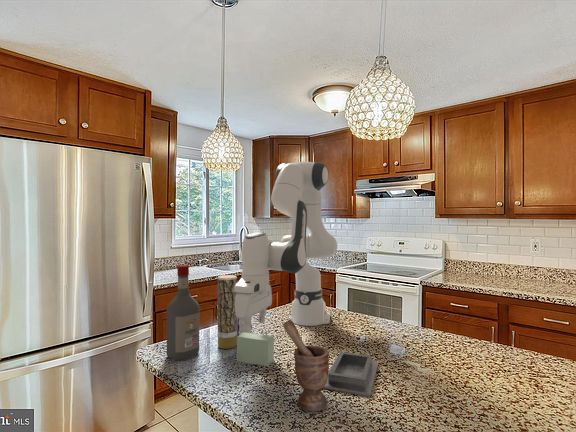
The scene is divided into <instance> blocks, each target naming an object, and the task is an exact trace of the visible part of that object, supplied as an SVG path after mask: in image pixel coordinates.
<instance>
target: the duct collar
mask: <svg viewBox="0 0 576 432" xmlns="http://www.w3.org/2000/svg"><path fill="white" fill-rule="evenodd" d="M378 366H379V362H375V361H373V355H366V354H358V353H350V352H344V351H340V352H339V354H338V356H337V357H335V359H334V362H333V363H332V365H331V366H330V368H329V372H328V378H327V382H326V384H325V385H324V387H323V388H322V390H323V389H324V390H329V391H334V392H341V393H346V394H353V395H358V396H363V397H368V398H369V397H370V398H371V396H372V392H373V387H374V383H375V379H376V375H377V371H378Z"/></svg>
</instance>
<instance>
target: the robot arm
mask: <svg viewBox="0 0 576 432" xmlns="http://www.w3.org/2000/svg"><path fill="white" fill-rule="evenodd" d="M274 175H275V182H274V184H273V188H272V191H271V192H272V193H271V203H272V206H273V207H274V208H275V210H277V211H278V212H279V213H280V214H283V215H284V216H287V217H289V218H291V233H290V234H287V235H283V236H282V238H281V239H280V241H279V242H278V241H272V240H271V239H269V238H268V235H267V233H266V232H259V231H257V232H251V233H248V234H246V235H244V238H243V239H242V244H241V263H242V270H241V278H240V279H239V280H238V281H237V284H236V285H235V286H234V292H236V293H237V294H236V296H235V314H236V317H237V318H238V319H243V321H244V324H245V330H246V331H251V332H252V330H253V324H252V317H254V316H255V315H257V314H259V315H258V316H257V319H258V320H257V321H258V322H257V323H261V324H263V323H264V322H265V321H266V320H265V319H266V318H265V317H266V314H267V308H269V307H271V306H272V303H273V293H272V286H271V284H270V271H278V272H286V273H291V274H294V275H295V289H294V300H292V302H291V315H289V316H288V318H287V319H288V320H291V321H292V322H293V323H294V325H299V326H307V327H313V326H319V325H328V324H330V322H331V320H330V319H331V312H329V311H327V308H326V304H327V303H326V302H325V300H324V299H323V288H322V287H321V285H322V281H321V280H322V279H321V278H322V277H321V276H322V275H321V272H320V270H319V269H318V268H316V267H315V266H312V265H311V264H309V263H308V262H307V260H309V259H326V258H332V257H334V255H335V254H336V253H337V250H338V242H337V239H336V238H335V236H334V235H332V234H331V233H330V232H329V231H328V230H327V229H326V228H325V225H324V224H323V220H322V199H321V198H322V197H321V196H322V195H321V190H322V188H324V187H325V186H326V184H327V182H328V178H329V171H328V168H327V166H326V164H324V163H323V162H320V161H319V162H318V161H315V162H313V161H296V162H294V161H293V162H283V163H281V164H279V165H278V166H277V168H276V169H275V174H274ZM307 229H308V230H309V233H307ZM269 270H270V271H269ZM250 320H251V321H250Z"/></svg>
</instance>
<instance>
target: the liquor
mask: <svg viewBox="0 0 576 432" xmlns="http://www.w3.org/2000/svg"><path fill="white" fill-rule="evenodd" d="M176 273H177V292H176V294H175V295H176V296H174V298H173V299H172V300H171V301H170V302H169V303H168V305H167V307H166V356H167V357H168V358H169V359H171V360H174V361H175V362H178V361H179V362H181V361H182V362H184V361H187V360H189V359H192V358H195V357H197V356H198V354H199V352H200V305H199V303H198V301H197V300H196V299H195V298H194V297H193V296H192V295H191V294H190V291H189V275H190V266H189V265H186V264H184V265H183V264H182V265H177V272H176Z"/></svg>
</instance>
